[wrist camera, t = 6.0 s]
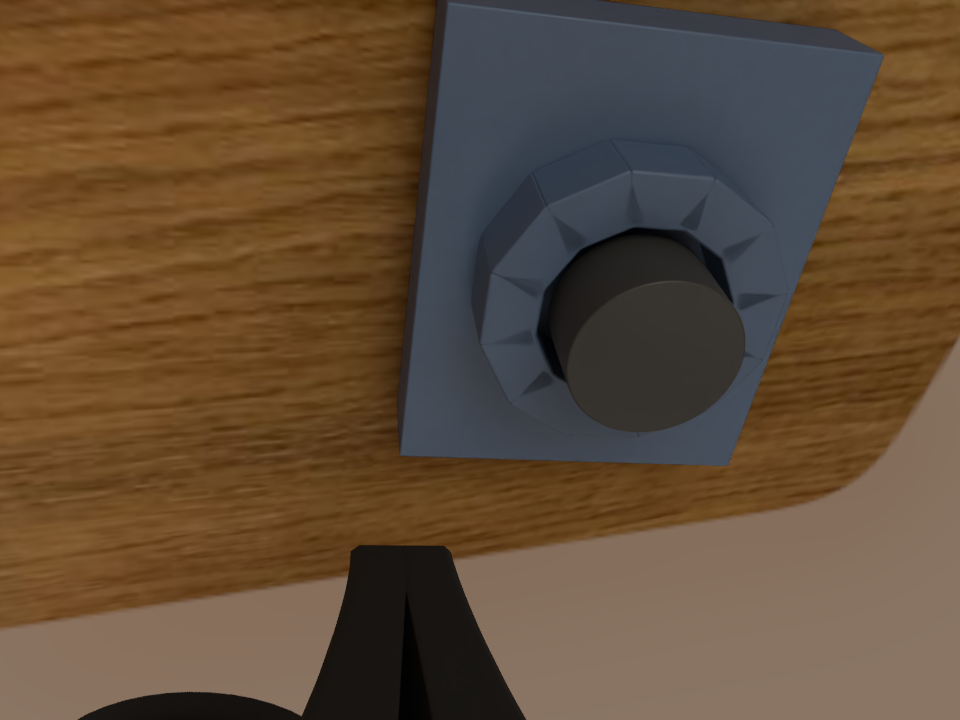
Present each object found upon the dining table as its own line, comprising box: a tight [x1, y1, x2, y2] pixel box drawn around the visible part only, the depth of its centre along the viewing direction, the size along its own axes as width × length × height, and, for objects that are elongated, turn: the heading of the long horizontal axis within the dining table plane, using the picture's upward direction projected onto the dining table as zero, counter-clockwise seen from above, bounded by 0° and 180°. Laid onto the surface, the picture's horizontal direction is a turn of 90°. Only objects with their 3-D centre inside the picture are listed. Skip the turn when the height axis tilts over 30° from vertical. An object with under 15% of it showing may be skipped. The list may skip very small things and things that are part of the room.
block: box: [397, 0, 884, 466], centre depth 20 cm, size 11×9×4 cm
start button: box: [548, 234, 745, 432], centre depth 17 cm, size 4×4×2 cm
